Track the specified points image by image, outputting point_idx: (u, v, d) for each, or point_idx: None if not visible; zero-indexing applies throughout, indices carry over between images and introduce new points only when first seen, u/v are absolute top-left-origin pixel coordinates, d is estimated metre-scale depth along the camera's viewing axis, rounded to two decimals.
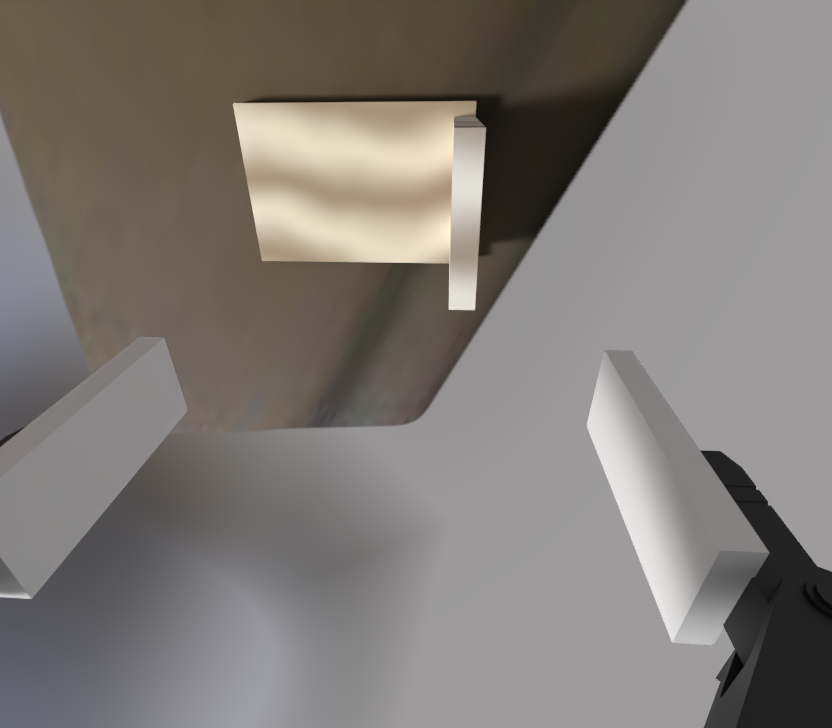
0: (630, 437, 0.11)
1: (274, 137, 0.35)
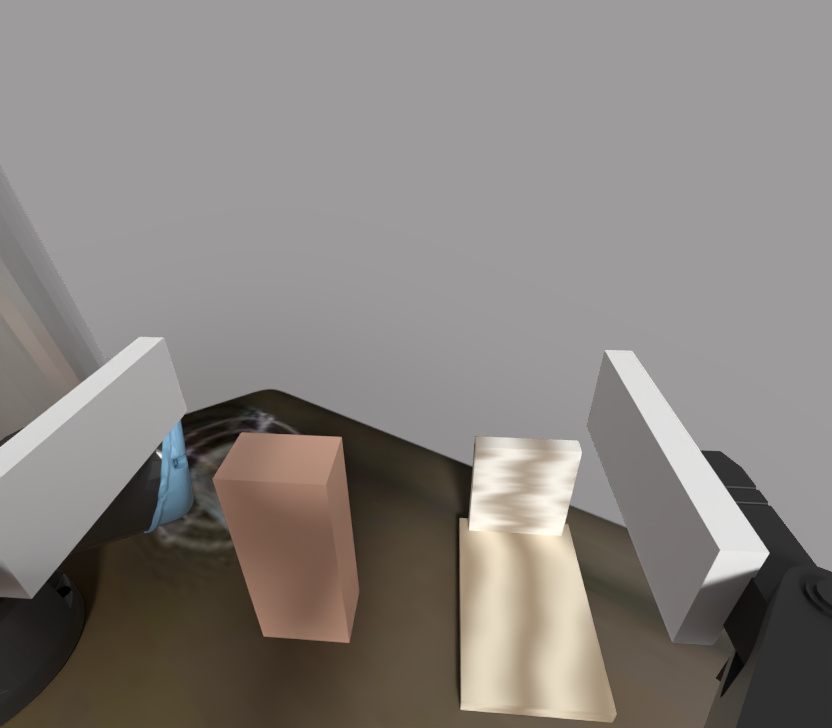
0: (630, 437, 0.11)
1: (487, 665, 0.38)
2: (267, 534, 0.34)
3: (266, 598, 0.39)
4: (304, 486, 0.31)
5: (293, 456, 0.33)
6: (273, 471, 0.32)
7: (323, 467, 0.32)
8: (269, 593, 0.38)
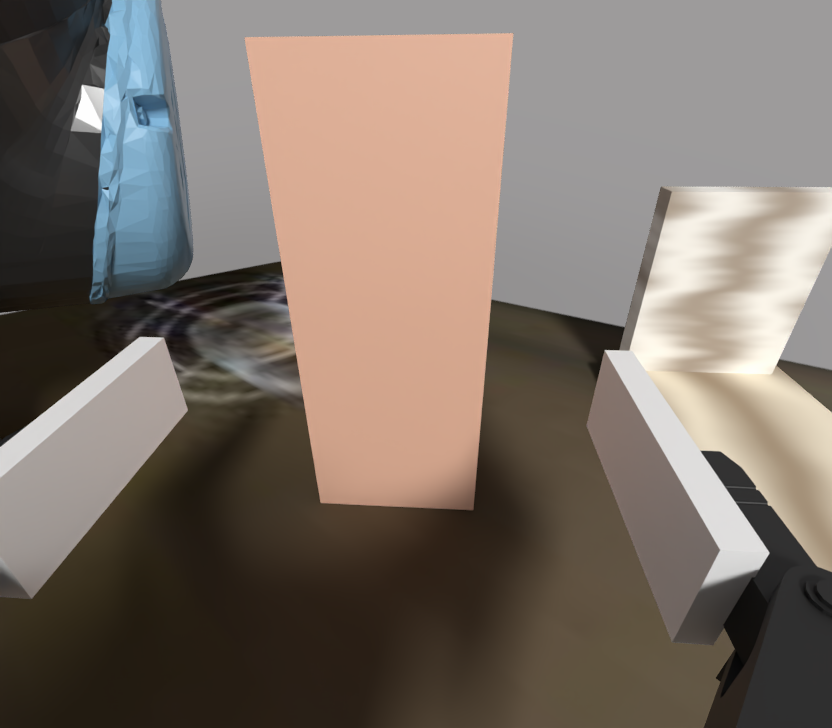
0: (630, 437, 0.11)
1: None
2: (355, 226, 0.16)
3: (334, 411, 0.21)
4: (460, 46, 0.13)
5: None
6: None
7: None
8: (341, 397, 0.20)
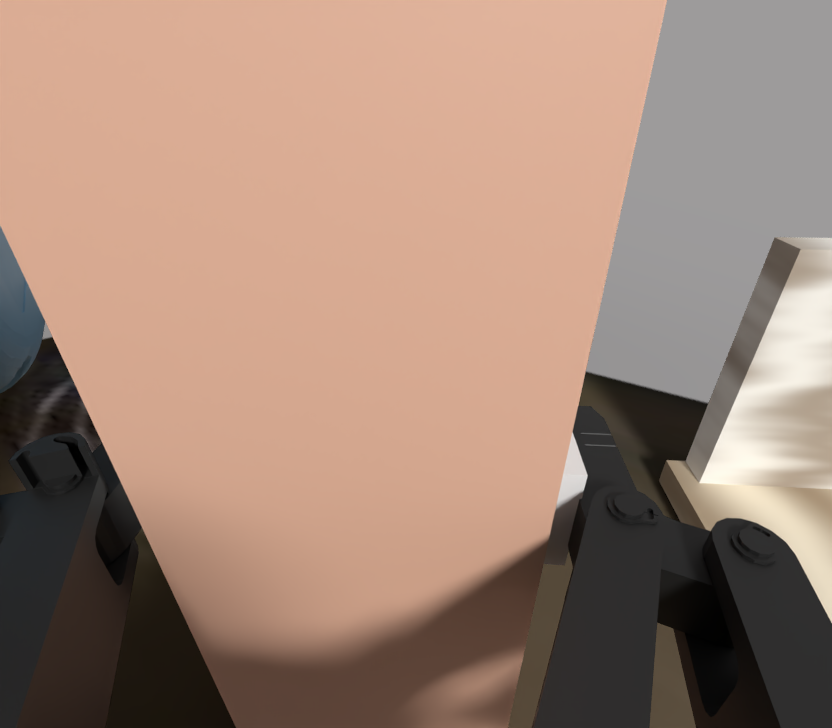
0: None
1: None
2: (254, 401, 0.07)
3: (254, 663, 0.12)
4: None
5: None
6: None
7: None
8: (264, 648, 0.11)
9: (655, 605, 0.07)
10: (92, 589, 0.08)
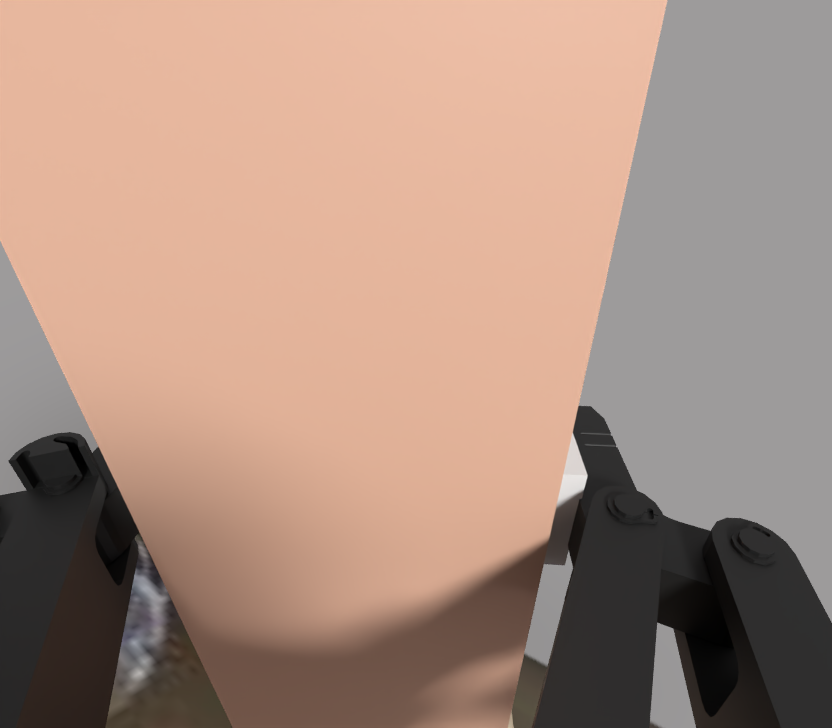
0: None
1: None
2: (250, 403, 0.07)
3: (252, 666, 0.12)
4: None
5: None
6: None
7: None
8: (261, 651, 0.11)
9: (655, 605, 0.07)
10: (92, 589, 0.08)
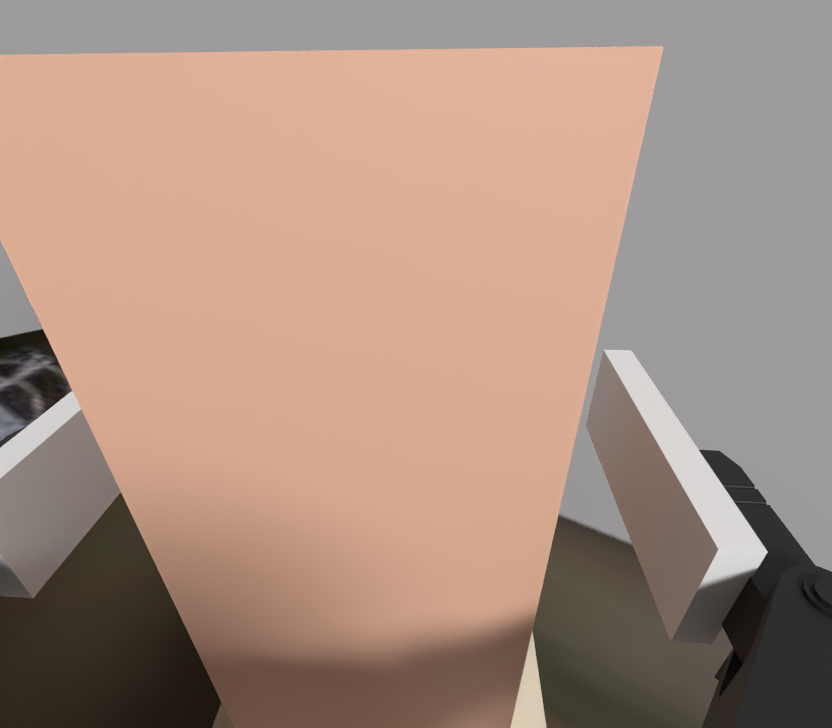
0: (629, 436, 0.11)
1: None
2: (265, 451, 0.08)
3: (261, 687, 0.12)
4: (506, 81, 0.05)
5: None
6: None
7: None
8: (271, 673, 0.12)
9: None
10: None
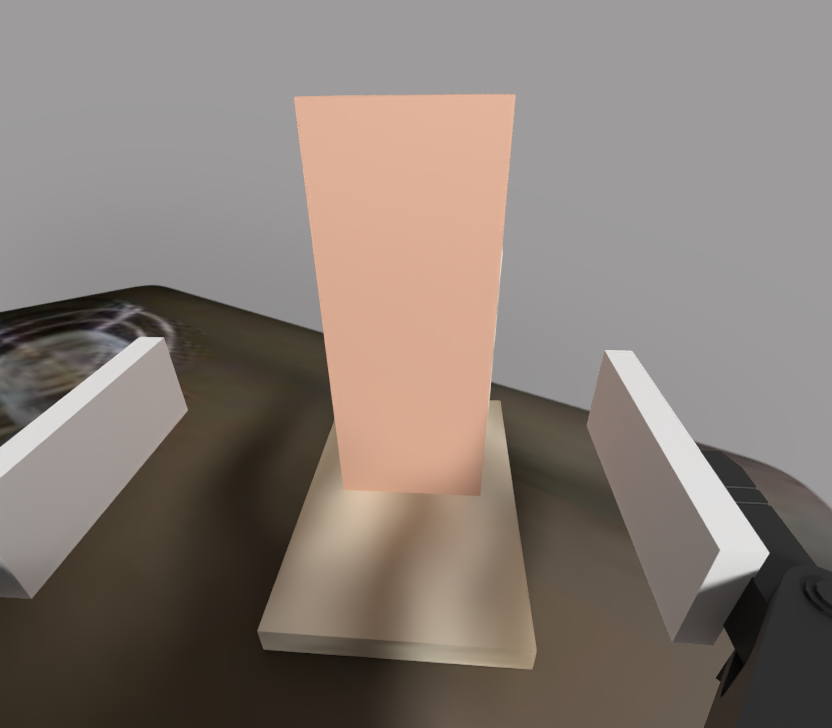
0: (630, 437, 0.11)
1: (323, 576, 0.22)
2: (381, 248, 0.19)
3: (358, 407, 0.24)
4: (472, 104, 0.16)
5: None
6: (405, 95, 0.17)
7: (495, 94, 0.18)
8: (365, 395, 0.23)
9: None
10: None
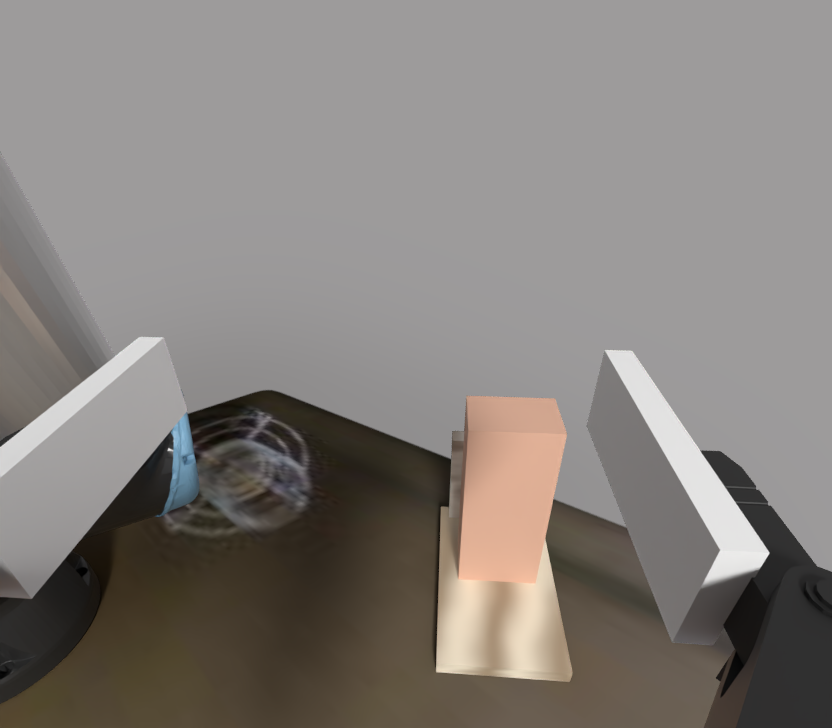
0: (630, 437, 0.11)
1: (461, 633, 0.43)
2: (498, 481, 0.40)
3: (474, 542, 0.45)
4: (547, 436, 0.37)
5: (524, 413, 0.40)
6: (515, 424, 0.38)
7: (555, 421, 0.39)
8: (479, 537, 0.44)
9: None
10: None
